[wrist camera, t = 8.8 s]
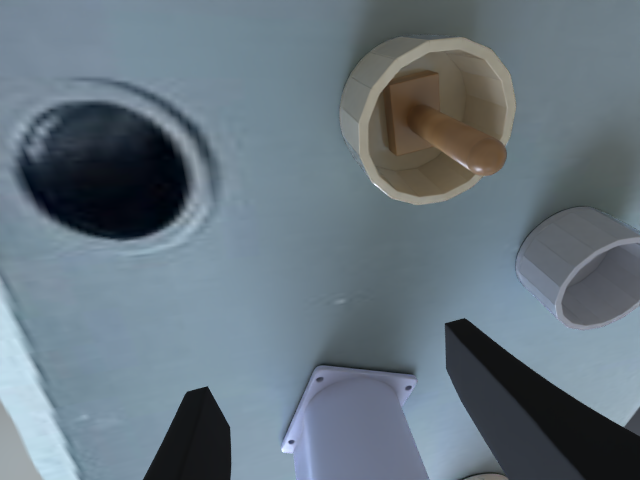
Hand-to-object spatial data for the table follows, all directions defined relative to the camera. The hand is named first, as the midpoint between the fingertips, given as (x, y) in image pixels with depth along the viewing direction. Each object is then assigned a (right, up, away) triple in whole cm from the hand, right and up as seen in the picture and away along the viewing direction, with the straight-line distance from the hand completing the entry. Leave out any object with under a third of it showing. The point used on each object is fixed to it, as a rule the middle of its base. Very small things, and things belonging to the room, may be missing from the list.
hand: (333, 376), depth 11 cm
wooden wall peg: (+4, +10, +6) cm, 12 cm away
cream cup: (+4, +10, +7) cm, 13 cm away
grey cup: (+15, +3, +13) cm, 20 cm away
